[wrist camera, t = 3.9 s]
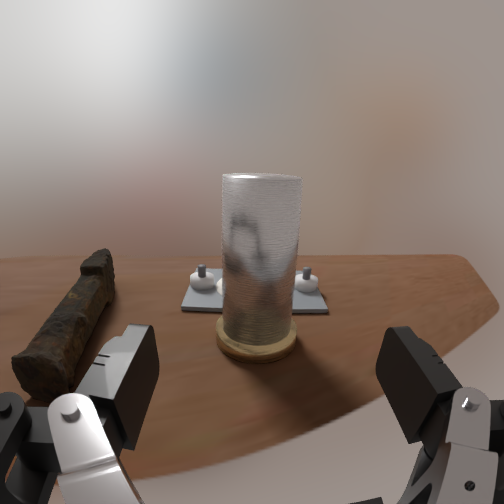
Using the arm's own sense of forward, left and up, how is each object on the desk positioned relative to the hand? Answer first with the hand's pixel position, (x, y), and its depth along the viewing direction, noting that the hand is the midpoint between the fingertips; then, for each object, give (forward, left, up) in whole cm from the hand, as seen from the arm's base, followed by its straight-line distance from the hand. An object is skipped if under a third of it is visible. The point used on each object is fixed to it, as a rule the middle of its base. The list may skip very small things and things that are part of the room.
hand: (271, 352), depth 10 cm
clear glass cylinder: (0, +11, -7) cm, 13 cm away
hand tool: (-15, +11, -8) cm, 20 cm away
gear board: (0, +20, -7) cm, 21 cm away
